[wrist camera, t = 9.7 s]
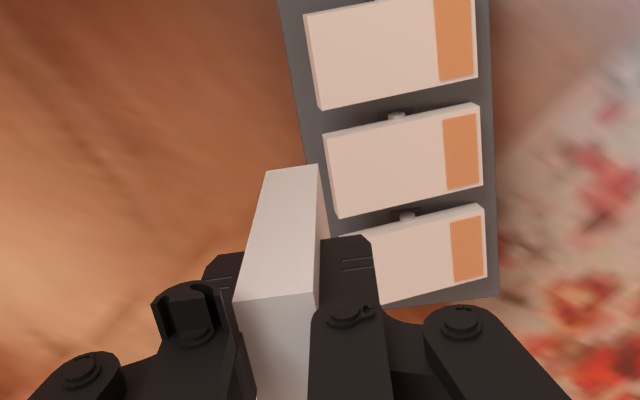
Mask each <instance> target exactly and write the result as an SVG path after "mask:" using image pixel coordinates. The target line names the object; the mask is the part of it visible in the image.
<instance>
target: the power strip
mask: <svg viewBox="0 0 640 400" xmlns="http://www.w3.org/2000/svg"><path fill="white" fill-rule="evenodd" d="M371 1H375V0H277V4H278V9H279V15H280V20H281V26H282V31H283V37H284V42H285V48H286V54H287V59H288V65H289V70H290V76H291V81H292V87H293V92H294V98H295V104H296V109H297V115H298V120H299V126H300V131H301V137H302V142H303V148H304V153H305V159H306V165H310V164H316V163H318V167H319V173H320V178H321V184H322V190H323V196H324V202H325V208H326V213H327V219H328V225H329V231H330V237H331V238H335V237H339V236H340V235H344V234H349V233H353V232H357V231H361V230H365V229H369V228H373V227H377V226H381V225H385V224H389V223H393V222H397V221H400V218H399V215H400V214H401V213H404V212H413V213H415V217H418V216H422V215H426V214H430V213H434V212H438V211H442V210H446V209H450V208H454V207H458V206H462V205H466V204H470V203H475V202H476V203H477V204H479V205H480V206H481V207H482V208H483V209H484V214H485V236H486V257H487V277H485V278H482V279H478V280H474V281H470V282H466V283H463V284H459V285H455V286H451V287H448V288H444V289H440V290H436V291H433V292H429V293H425V294H421V295H417V296H414V297H410V298H406V299H402V300H399V301H395V302H391V303H387V304H384V305H381V307H382V309H383V310H389V309H397V308H405V307H413V306H421V305H429V304H437V303H445V302H453V301H461V300H469V299H477V298H485V297H493V296H500V292H499V265H498V237H497V210H496V183H495V155H494V128H493V101H492V74H491V46H490V19H489V0H475V20H476V41H477V63H478V78H473V79H469V80H464V81H459V82H455V83H450V84H445V85H441V86H436V87H431V88H427V89H422V90H417V91H413V92H408V93H404V94H399V95H394V96H390V97H385V98H380V99H376V100H371V101H366V102H362V103H357V104H352V105H348V106H343V107H338V108H334V109H329V110H325V111H321V110H320V108H319V107H318V106H317V100H316V94H315V88H314V82H313V76H312V70H311V64H310V58H309V52H308V46H307V39H306V33H305V27H304V21H303V14H309V13H314V12H319V11H324V10H330V9H335V8H340V7H345V6H350V5H356V4H361V3H366V2H371ZM467 102H472V103H474V104H476V105H478V106H480V125H481V146H482V168H483V185H482V186H478V187H473V188H469V189H465V190H461V191H457V192H452V193H448V194H444V195H440V196H436V197H431V198H427V199H423V200H419V201H414V202H410V203H406V204H402V205H398V206H393V207H389V208H385V209H381V210H376V211H372V212H368V213H364V214H360V215H355V216H351V217H347V218H343V219H339V218H338V217H337V215H336V213H335V211H334V205H333V198H332V192H331V186H330V180H329V174H328V168H327V162H326V156H325V150H324V144H323V138H322V134H325V133H329V132H334V131H339V130H343V129H348V128H352V127H357V126H362V125H366V124H371V123H375V122H380V121H385V120H388V114H390V113H393V112H404V113H405V116H408V115H412V114H417V113H421V112H426V111H431V110H435V109H440V108H444V107H449V106H454V105H458V104H463V103H467Z"/></svg>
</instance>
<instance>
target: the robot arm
mask: <svg viewBox="0 0 640 400" xmlns="http://www.w3.org/2000/svg"><path fill="white" fill-rule="evenodd" d="M150 306H151V309H152V311H153V314H154V317H155V320H156V323H157V326H158V329H159V332H160V335H161V338H162V342H161V345H160V347H159V350H158V352H157V354H156V355H153V356H151V357H149V358H146V359H143V360H140V361H137V362H134V363H131V364H128V365H125V366H123V367H121V365H120V362H119V360H118V358H117V357H116V356H115V355H114V354H113V353H109V352H105V351H99V352H90V353H86V354H83V355H79V356H77V357H75V358H73V359H71V360H70V361H68V362H66V363H64V364H62V365H61V366H60V367H59V368H58V369H56V370H55V371H54V372H53V373H52V374H51V375H50V376H49V377H48V378H47V379H46V380H45V381H44V382H43V383H42V384H41V385H40V387H39V388H38V389H37V390H36V391H35V392H34V393H33V394H32V395H31V396H30V397H29V398H28V399H27V400H256V396H257V399H258V400H571V398H570V397H569V396H568V395H567V394H566V393H565V392H564V391H563V390H562V389H561V387H560V386H559V385H558V384H557V383H556V382H555V381H554V380H553V379H552V378H551V376H550V375H549V374H548V373H547V372H546V371H545V370H544V369H543V368H542V366H541V365H540V364H539V363H538V362H537V361H536V360H535V359H534V358H533V357H532V355H531V354H530V353H529V352H528V351H527V350H526V349H525V348H524V347H523V346H522V344H521V343H520V342H519V341H518V340H517V339H516V338H515V337H514V336H513V334H512V333H511V332H510V331H509V330H508V329H507V328H506V327H505V326H504V325H503V323H502V322H501V321H500V320H499V319H498V318H497V317H496V316H495V315H493V314H492V313H491V312H489V311H488V310H486V309H483V308H480V307H477V306H474V305H461V304H458V305H452V306H445V307H443V308H440V309H438V310H436V311H433V312H432V313H431V314H430V315H429V316H428V317H427V318H426V319H425V321H424V324H423V325H418V324H410V323H405V322H401V321H398V320H396V319H393V318H392V317H390V316H389V315H387V314H386V313H385V312H384V311H383V309H382V307H381V305H380V301H379V294H378V287H377V280H376V273H375V267H374V260H373V253H372V246H371V243H370V242H369V241H368V240H367V239H366V238H365V237H364V236H363V235H362V234H357V235H350V236H343V237H335V238H331V237H330V231H329V225H328V219H327V213H326V208H325V202H324V196H323V190H322V184H321V178H320V173H319V167H318V163H316V164H310V165H303V166H296V167H289V168H282V169H275V170H268V171H266V174H265V178H264V182H263V185H262V189H261V193H260V197H259V201H258V204H257V208H256V212H255V216H254V220H253V223H252V227H251V231H250V235H249V239H248V242H247V246H246V250H245V251H243V252H236V253H228V254H221V255H218V256H217V257H216V258H215V259H214V260H213V261H212V262H211V263H210V264H209V265H208V266H207V267H206V269H205V271H204V274H203V277H202V279H201V280H196V281H189V282H185V283H180V284H178V285H175V286H173V287H171V288H168V289H166V290H165V291H164V292H162V293H161V294H159V295H158V296H157V297H156V298H155V299H154V300H153V302H152V303H151V304H150Z"/></svg>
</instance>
